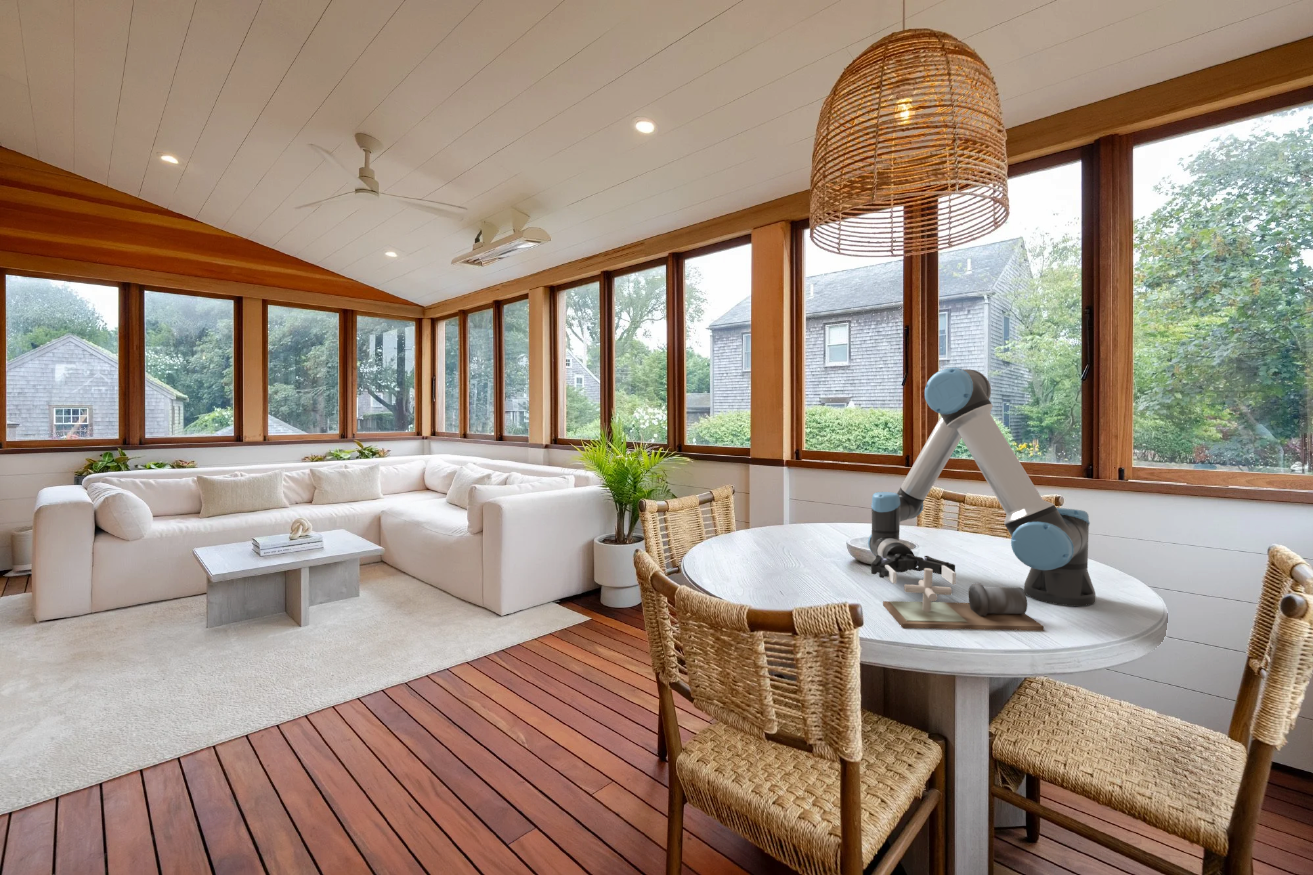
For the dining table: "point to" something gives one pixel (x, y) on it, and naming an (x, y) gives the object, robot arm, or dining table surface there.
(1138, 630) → the dining table surface
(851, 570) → the dining table surface
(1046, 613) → the dining table surface
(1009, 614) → the fitting board
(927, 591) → the pipe connector
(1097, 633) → the dining table surface
